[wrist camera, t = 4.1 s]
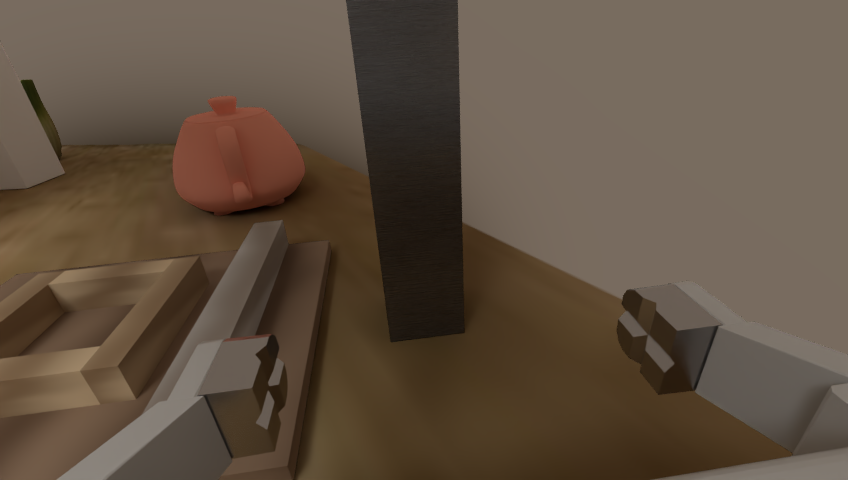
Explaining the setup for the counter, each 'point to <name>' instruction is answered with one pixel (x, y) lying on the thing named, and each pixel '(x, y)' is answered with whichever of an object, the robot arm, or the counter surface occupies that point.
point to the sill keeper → (148, 345)
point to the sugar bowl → (235, 159)
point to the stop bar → (413, 157)
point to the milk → (22, 136)
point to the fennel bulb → (43, 116)
